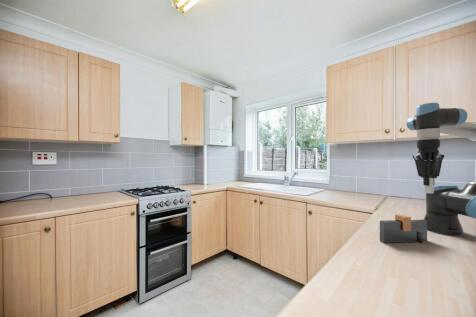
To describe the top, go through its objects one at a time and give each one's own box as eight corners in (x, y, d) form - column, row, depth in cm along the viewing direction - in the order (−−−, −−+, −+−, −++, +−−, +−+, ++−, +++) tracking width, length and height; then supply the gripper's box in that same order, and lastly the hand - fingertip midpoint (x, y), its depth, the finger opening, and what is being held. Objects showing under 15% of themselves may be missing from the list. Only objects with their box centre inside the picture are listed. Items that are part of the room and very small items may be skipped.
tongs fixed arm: (424, 239, 94) (424, 219, 94) (431, 242, 91) (431, 221, 91) (379, 240, 93) (379, 220, 93) (385, 243, 89) (385, 222, 89)
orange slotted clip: (401, 227, 94) (401, 214, 94) (410, 231, 90) (410, 217, 90) (395, 227, 94) (395, 214, 94) (403, 231, 90) (403, 217, 90)
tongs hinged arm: (414, 240, 92) (414, 220, 92) (416, 241, 91) (416, 221, 91) (381, 241, 91) (381, 221, 91) (384, 242, 90) (384, 222, 90)
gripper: (433, 139, 96) (434, 191, 96) (406, 140, 95) (407, 192, 95) (450, 138, 89) (452, 193, 89) (422, 138, 88) (423, 194, 88)
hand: (429, 192), depth 92 cm, fingers closed
